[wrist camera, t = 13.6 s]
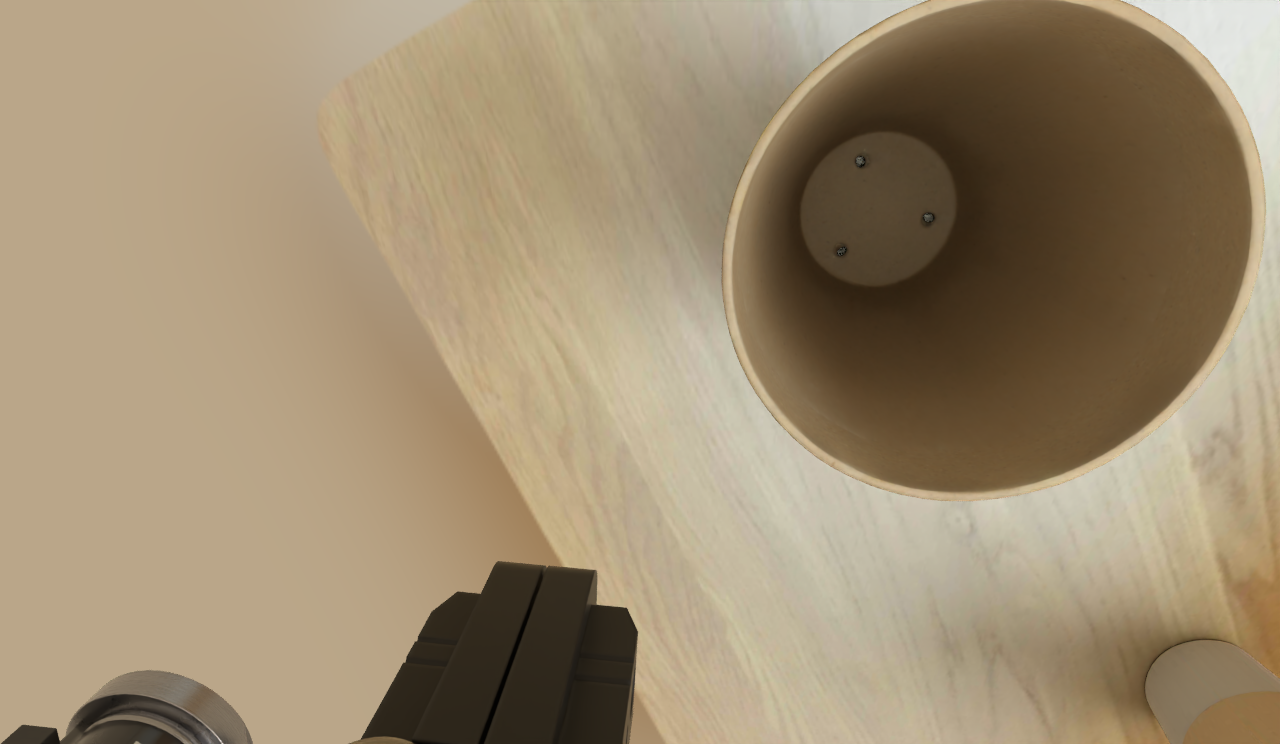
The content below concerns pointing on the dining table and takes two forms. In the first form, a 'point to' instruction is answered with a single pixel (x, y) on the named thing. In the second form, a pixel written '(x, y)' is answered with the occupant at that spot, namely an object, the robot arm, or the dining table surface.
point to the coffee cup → (1214, 695)
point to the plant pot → (993, 244)
